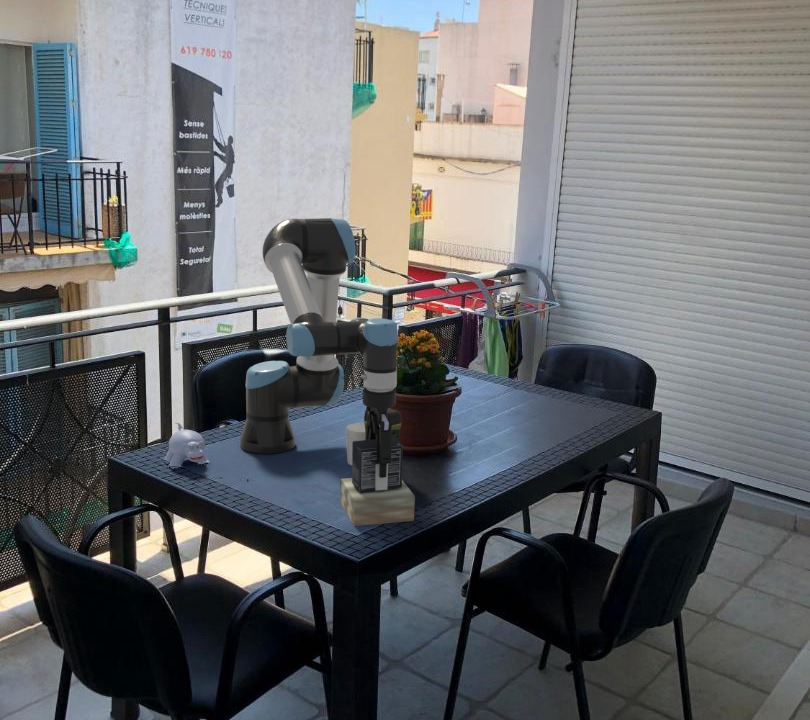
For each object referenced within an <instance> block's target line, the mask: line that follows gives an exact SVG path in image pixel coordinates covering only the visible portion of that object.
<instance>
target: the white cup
mask: <svg viewBox="0 0 810 720" xmlns="http://www.w3.org/2000/svg"><path fill="white" fill-rule="evenodd" d="M345 438H346V439H345V442H346V454H347V458H346V459H347V460H346V461H347V464H348V465H350V466H351V467H352V447H353V446H352V442H353V441H362V440H365V424H364V422H355V423H350V424H347V425H346V426H345Z"/></svg>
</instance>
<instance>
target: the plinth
mask: <svg viewBox="0 0 810 720" xmlns="http://www.w3.org/2000/svg"><path fill="white" fill-rule="evenodd" d="M340 482H341V483H340V504H341V505H342V508H343V509H344V511H345V512H346V514H347V516H348V517H349V520H350V521H351V523H352V526H354V527H358V526H359V527H361V526H368V525H380V524H381V525H383V524H392V523H393V524H395V523H402V522H403V523H404V522H414V521H415V504H416V503H415V501H416V497H415V494H414V493H413V492H412V491H411V489H410V488H409V487H408V486H407V484H406V483H405V481H404V480H403V479H402V487H401V488H393V489H387V490H375V491H367V492H359V491H358V490H357V489H356V487H355V486H354V485H353V483H352V477H350V478H349V477H347V478H341V479H340Z"/></svg>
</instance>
